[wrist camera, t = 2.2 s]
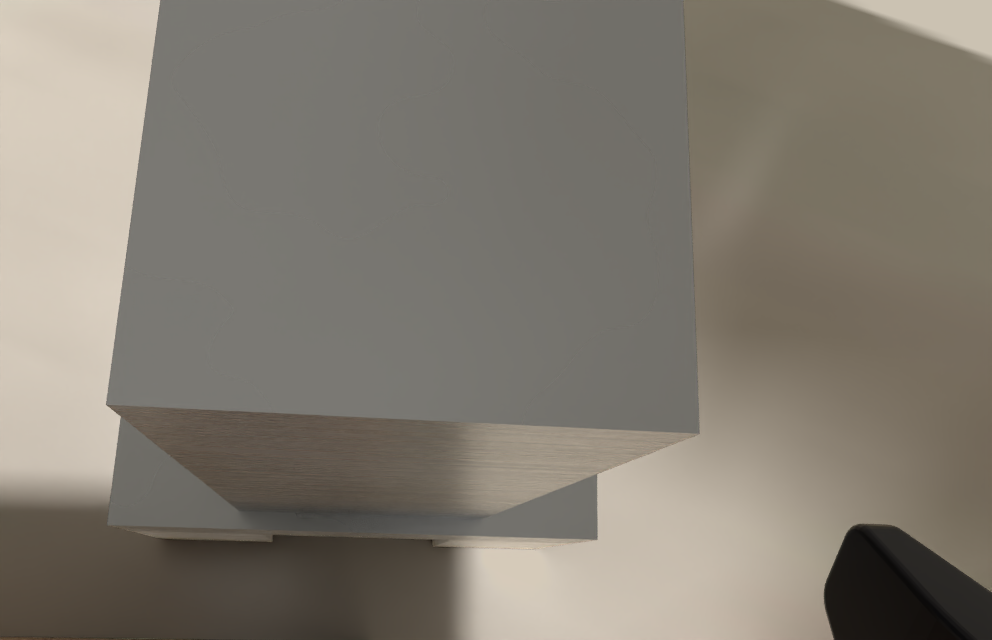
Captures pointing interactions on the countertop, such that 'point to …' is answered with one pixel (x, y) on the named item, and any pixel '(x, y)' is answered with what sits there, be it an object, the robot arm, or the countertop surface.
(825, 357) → the countertop surface
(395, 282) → the grey tower on plinth
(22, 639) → the rail
